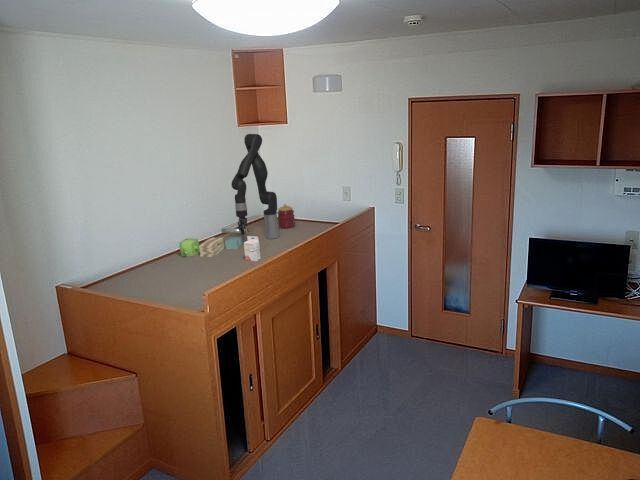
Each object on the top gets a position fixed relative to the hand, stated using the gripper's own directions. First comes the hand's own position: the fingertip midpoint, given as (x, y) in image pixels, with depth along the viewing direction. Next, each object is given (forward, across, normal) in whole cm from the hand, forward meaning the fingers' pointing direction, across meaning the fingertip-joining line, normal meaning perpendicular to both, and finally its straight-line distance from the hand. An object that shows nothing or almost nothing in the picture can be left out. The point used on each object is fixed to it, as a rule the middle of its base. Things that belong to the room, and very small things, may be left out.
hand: (243, 234), depth 364 cm
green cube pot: (+9, -18, +32) cm, 38 cm away
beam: (+9, -14, +18) cm, 24 cm away
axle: (-1, 0, +6) cm, 6 cm away
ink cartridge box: (+9, -32, -15) cm, 36 cm away
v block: (+9, 0, +8) cm, 11 cm away
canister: (+8, +54, -17) cm, 57 cm away
